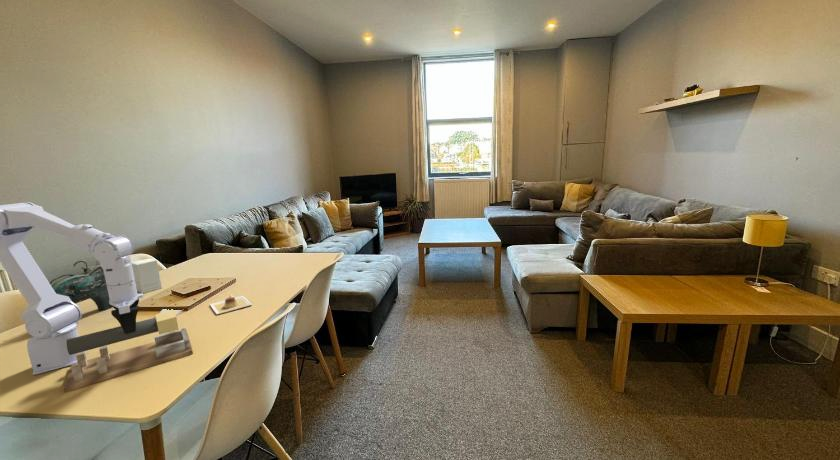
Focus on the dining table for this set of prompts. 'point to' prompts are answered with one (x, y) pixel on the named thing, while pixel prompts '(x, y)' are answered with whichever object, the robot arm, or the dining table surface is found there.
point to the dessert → (230, 303)
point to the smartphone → (170, 310)
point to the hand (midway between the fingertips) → (130, 329)
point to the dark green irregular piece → (85, 286)
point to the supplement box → (146, 275)
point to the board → (127, 359)
